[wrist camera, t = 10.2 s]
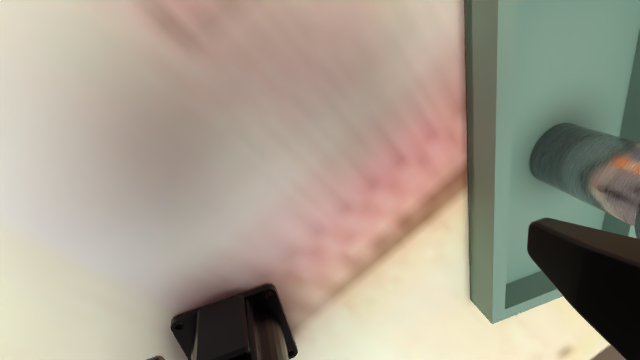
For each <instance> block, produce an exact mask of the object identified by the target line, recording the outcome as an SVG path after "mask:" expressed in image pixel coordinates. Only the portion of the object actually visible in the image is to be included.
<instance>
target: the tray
mask: <svg viewBox="0 0 640 360" xmlns="http://www.w3.org/2000/svg"><path fill="white" fill-rule="evenodd" d="M465 44H466V93H467V142H468V192H469V241H470V290H471V301H472V302H473V303H474V304H475V305H476V306H477V308H478V309H479V310H480V311H481V312H482V313H483V314H484V315H485V317H486V318H487V319H488V320H489V321H490V322H491V323H492V324H494V323H496V322H499V321H501V320H504V319H506V318H509V317H511V316H514V315H516V314H519V313H522V312H524V311H527V310H529V309H532V308H534V307H537V306H539V305H542V304H544V303H547V302H549V301H552V300H554V299H557V298H559V297H562V296H563V295H562V294H561V293H560V292H559V291H558V289H557V288H556V287H555V286H554V285H553V284H552V282H551V281H550V280H549V279H548V278H547V277H546V275H545V274H544V273H543V272H542V271H541V269H540V268H539V267H538V266H537V265H536V264H535V262H534V261H533V260H532V259H531V257H530V256H529V254H528V251H527V239H528V227H529V225H530V223H531V222H533V221H536V220H539V219H542V218H552V219H556V220H561V221H565V222H569V223H573V224H578V225H582V226H586V227H591V228H595V229H599V230H603V231H608V232H612V233H616V234H621V235H625V236H629V237H633V238H637V237H636V234H635V227H634V226H632V225H630V224H628V223H626V222H624V221H622V220H620V219H618V218H616V217H614V216H612V215H610V214H608V213H606V212H604V211H602V210H599V209H597V208H595V207H593V206H591V205H589V204H587V203H585V202H583V201H581V200H579V199H577V198H575V197H573V196H571V195H569V194H567V193H565V192H562V191H560V190H558V189H556V188H554V187H552V186H550V185H548V184H546V183H544V182H542V181H540V180H538V179H536V178H535V177H534V176H533V174H532V172H531V169H530V158H531V154H532V151H533V149H534V146H535V145H536V143H537V141H538V140H539V139H540V137H541V136H542V135H543V134H544V133H545V132H546V131H547V130H549V129H550V128H552V127H553V126H555V125H558V124H561V123H572V124H575V125H579V126H582V127H586V128H589V129H593V130H596V131H600V132H603V133H607V134H611V135H614V136H618V137H621V138H625V139H628V140H632V141H635V142H639V143H640V0H465Z"/></svg>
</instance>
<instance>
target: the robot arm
mask: <svg viewBox="0 0 640 360" xmlns="http://www.w3.org/2000/svg"><path fill="white" fill-rule="evenodd" d="M527 251H528V254H529V256H530V257H531V259H532V260H533V261H534V262H535V264H536V265H537V266H538V267H539V268H540V269H541V271H542V272H543V273H544V274H545V275H546V277H547V278H548V279H549V280H550V281H551V282H552V284H553V285H554V286H555V287H556V288H557V289H558V291H559V292H560V293H561V294H562V295H563V296H564V298H565V299H566V300H567V301H568V302H569V303H570V304H571V306H572V307H573V308H574V309H575V310H576V311H577V312H578V313H579V314H580V315H581V316H582V317H583V318H584V319H585V320H586V321H587V322H588V323H589V324H590V325H591V326H592V327H593V328H594V329H595V330H596V331H597V332H598V333H599V334H600V335H601V336H602V337H603V338H604V339H605V340H606V341H607V342H608V343H610V344H611V345H612V346H613V347H614V348H615V349H616V350H617V351H618V352H619V353H620V354H621V355H622V356H623V357H624V358H625V359H626V360H640V239H638V238H633V237H629V236H625V235H621V234H616V233H612V232H608V231H603V230H599V229H595V228H591V227H586V226H582V225H578V224H573V223H569V222H565V221H561V220H556V219H552V218H542V219H539V220H536V221H533V222H531V223H530V225H529V227H528V239H527ZM268 292H271V293H270V294H266V293H268ZM177 324H182V325H177ZM171 330H172V332H173V334H174V336H175V337H176V339H177V341H178V342H179V344H180V346H181V348H182V349H183V351H184V353H185V355H186V356H187V358H188V360H289V359H291V358H293V357H295V356H296V355H297V353H298V351H297V346H296V344H295V341H294V338H293V335H292V332H291V330H290V327H289V324H288V321H287V318H286V316H285V313H284V310H283V307H282V304H281V302H280V299H279V296H278V293H277V290H276V288H275V287H274V286H273V285H265V286H262V287H260V288H257V289H254V290H251V291H248V292H245V293H242V294H239V295H236V296H234V297H231V298H228V299H225V300H222V301H219V302H216V303H213V304H210V305H208V306H205V307H202V308H199V309H196V310H193V311H190V312H187V313H184V314H182V315H179V316H176V317H174V318H173V319H172V322H171ZM147 360H165V359H164V358H163V357H162V356H155V357H152V358H149V359H147Z"/></svg>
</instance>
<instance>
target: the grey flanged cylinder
mask: <svg viewBox="0 0 640 360" xmlns="http://www.w3.org/2000/svg"><path fill="white" fill-rule="evenodd" d="M530 169H531V172H532V174H533V176H534V177H535V178H536V179H538V180H540V181H542V182H544V183H546V184H548V185H550V186H552V187H554V188H556V189H558V190H560V191H562V192H565V193H567V194H569V195H571V196H573V197H575V198H577V199H579V200H581V201H583V202H585V203H587V204H589V205H591V206H593V207H595V208H597V209H599V210H602V211H604V212H606V213H608V214H610V215H612V216H614V217H616V218H618V219H620V220H622V221H624V222H626V223H628V224H630V225H632V226H634V227H635V234H636V237H637V238H638V239H640V143H639V142H635V141H632V140H628V139H625V138H621V137H618V136H614V135H611V134H607V133H603V132H600V131H596V130H593V129H589V128H586V127H582V126H579V125H575V124H572V123H561V124H558V125H555V126H553V127H552V128H550V129H549V130H547V131H546V132H545V133H544V134H543V135H542V136H541V137H540V139H539V140H538V141H537V143H536V145H535V146H534V149H533V151H532V154H531V158H530Z"/></svg>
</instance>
